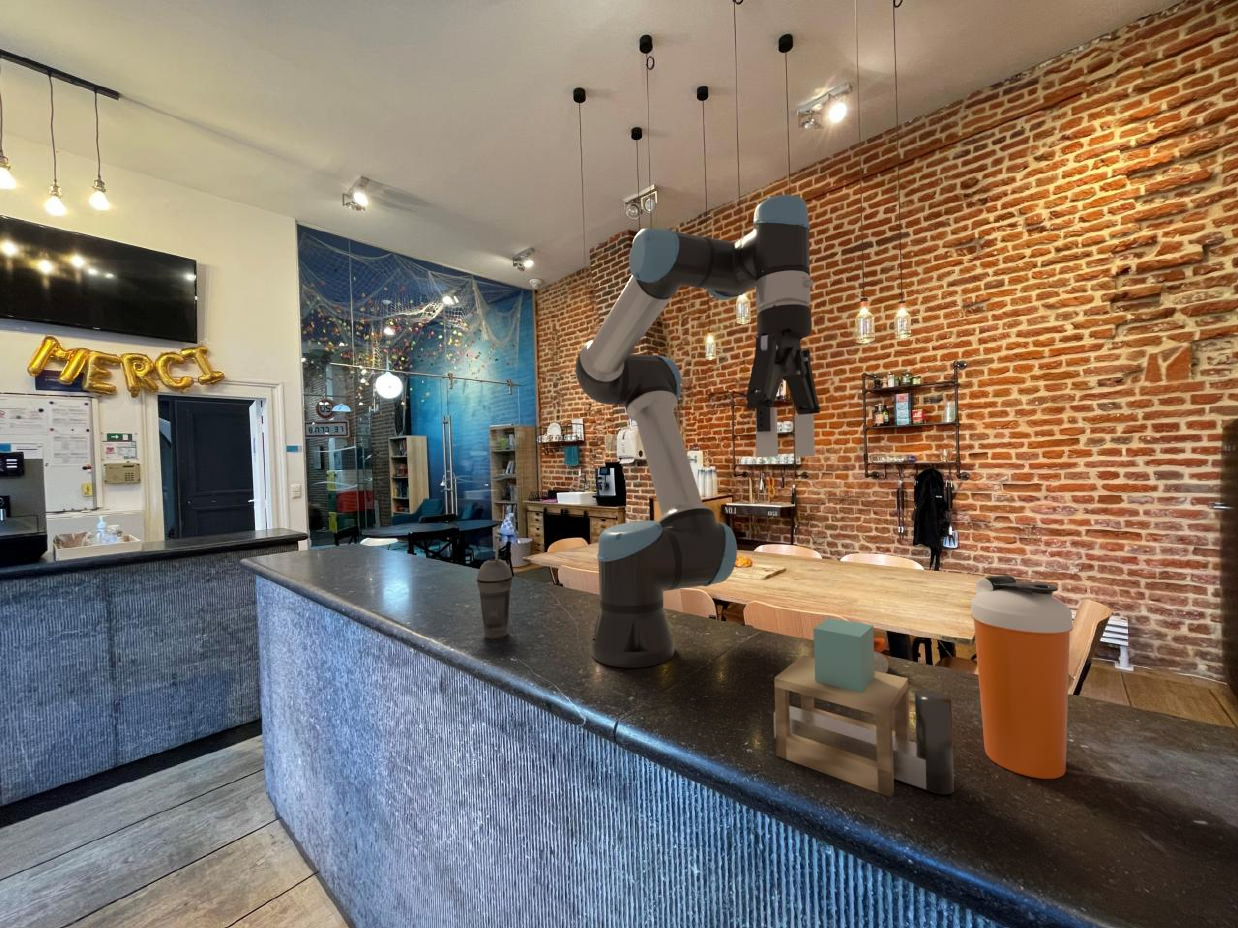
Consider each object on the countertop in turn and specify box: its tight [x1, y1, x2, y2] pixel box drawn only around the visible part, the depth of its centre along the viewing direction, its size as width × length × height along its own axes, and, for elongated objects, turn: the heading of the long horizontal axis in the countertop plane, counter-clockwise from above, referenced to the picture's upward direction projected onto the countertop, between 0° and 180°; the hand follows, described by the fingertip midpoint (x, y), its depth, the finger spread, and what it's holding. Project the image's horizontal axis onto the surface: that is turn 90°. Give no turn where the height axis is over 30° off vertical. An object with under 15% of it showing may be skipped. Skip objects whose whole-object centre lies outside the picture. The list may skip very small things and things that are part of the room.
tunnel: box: [773, 654, 911, 798], centre depth 58 cm, size 12×9×9 cm
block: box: [813, 617, 875, 693], centre depth 58 cm, size 5×5×6 cm
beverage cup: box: [476, 537, 514, 639], centre depth 105 cm, size 7×7×20 cm
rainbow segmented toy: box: [874, 637, 891, 674], centre depth 83 cm, size 8×10×7 cm
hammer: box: [773, 689, 955, 795], centre depth 57 cm, size 18×3×9 cm, turn 49°
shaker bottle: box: [970, 575, 1073, 780], centre depth 57 cm, size 9×9×20 cm
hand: (787, 457), depth 73 cm, fingers open, 13 cm apart
